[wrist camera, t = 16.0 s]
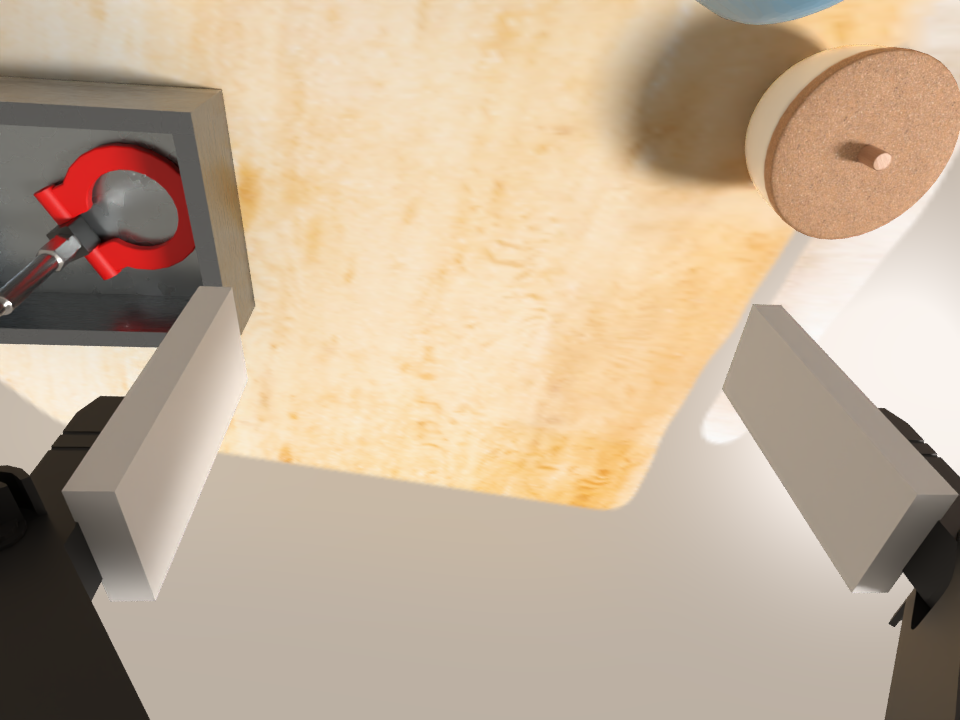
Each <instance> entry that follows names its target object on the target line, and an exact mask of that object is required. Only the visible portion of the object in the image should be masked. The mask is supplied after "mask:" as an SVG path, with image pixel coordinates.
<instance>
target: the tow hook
mask: <svg viewBox="0 0 960 720" xmlns="http://www.w3.org/2000/svg"><path fill="white" fill-rule="evenodd" d="M115 170H130V171H135V172H138V173H141V174H144V175H146V176H148V177H150V178H151V179H153V180H155V181H156V182H157V183H159V184H160V185H161V186H162V187H163V188H164V189H165V190H166V191H167V192H168V194H169V195H170V196H171V198H172V199H173V201H174V204H175V206H176V208H177V213H178V219H179V220H178V227H177V231H176V232H175V234H174V236H173V237H172V238H171V239H170V240H169V241H167V242H165V243H162V244H160V245H155V246H138V245H135V244H131V243H128V242H126V241H124V240H122V239H120V238H113V239H111V240H108V241H106V242H103V243H101V239H100V238H99V237H98V235H97V234H96V233H95V231H94V230H93V229H92V228H91V226H90V225H89V224H88V223H87V221H86V220H85V219H84V218H83V216H82V215H80V214H82V213H84V212H87V211H88V210H89V209H91V207H92V205H93V203H92V190H93V187H94V185H95V183H96V180H97V179H98V178H99V177H100V176H101V175H103V174H105V173H107V172H109V171H115ZM33 195H34V196H35V197H36V199H37V200H38V201H39V202H40V204H41V205H42V206H43V207H44V208H45V210H46V211H47V212H48V213H49V214H50V216H51V217H52V218H53V219H54V221H55V222H56V223H57V224H58V225H57V226H56V227H55V228H54V229H52V230H51V231H50V232H49V233H48V234H46V236H47V237H48V239H49V240H50V241H49V242H47V243H46V244H45V245H44V246H43V247H42V248H40V250H39V251H38V253H37V255H36V257H35V259H34V260H33V261H32V262H30V263H29V264H28V265H27V266H26V267H25V268H23V269H22V270H21V271H20V272H19V273H18V274H16V275H15V276H14V277H13V278H12V279H11V280H9V281H8V282H7V283H6V284H5V285H4V286H3V287H1V288H0V316H1V315H8V314H10V313H11V312H12V311H13V310H14V309H15V308H17V307H18V306H19V305H20V304H21V303H22V302H23V301H24V300H25V299H26V298H27V297H28V296H29V295H30V294H31V293H32V292H33V291H35V290H36V289H37V288H38V287H39V286H40V285H41V284H42V283H43V282H44V281H45V280H46V279H47V278H48V277H49V276H50V275H51V274H53V273H54V272H60V271H61V270H62V269H63V268H64V267H65V266H67V265H68V264H69V263H70V262H72V261H75V260H77V259H79V258H82V257H85V258H86V259H87V261H88V262H89V263H90V264H91V265H92V267H93V268H94V269H95V270H96V271H97V273H98V274H99V275H100V276H101V278H102V279H103V280H107V279H110V278H112V277H114V276H116V275H117V274H118V273H120V272H121V271H122V269H123V268H125V267H131V268H135V269H146V270H156V269H162V268H168V267H171V266H173V265H175V264H177V263H179V262H181V261H183V260H184V259H185V258H186V257H187V256H188V255H190V254H191V253H192V252H193V251H194V249H195V243H194V238H193V233H192V229H191V224H190V219H189V214H188V209H187V204H186V199H185V194H184V189H183V184H182V180H181V175H180V170H179V168H178V167H177V166H176V165H175V164H174V163H173V162H171V161H170V160H168V159H167V158H165V157H163V156H161V155H160V154H158V153H156V152H155V151H152V150H149V149H146V148H143V147H140V146H137V145H133V144H122V143H112V144H106V145H101V146H97V147H95V148H93V149H91V150H89V151H87V152H85V153H83V154H82V155H80V156H79V157H78V158H77V159H76V160H75V161H74V163H73V164H72V165H71V166H70V167H69V168H68V171H67V173H66V176H65V178H64V180H63V183H61V184H59V185H57V186H55V184H51V185H49V186H46V187H44V188H42V189H40V190H39V191H37V192H35V193H34V194H33Z"/></svg>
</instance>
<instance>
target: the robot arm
mask: <svg viewBox="0 0 960 720" xmlns="http://www.w3.org/2000/svg"><path fill="white" fill-rule="evenodd" d="M696 1H697V2H699V3H700V4H702V5H703V6H705V7H706V8H708V9H709V10H710V11H712V12H714V13H715V14H717V15H718V16H720V17H722V18H725V19H729V20H732V21H735V22H740V23H744V24H753V25H764V24H774V23H781V22H786V21H790V20H795V19H798V18H802V17H805V16H808V15H811V14H813V13H816V12H819V11H821V10H824V9H826V8H829V7H831V6H833V5H835V4H837V3H839V2H841V1H843V0H696ZM247 381H248V375H247V370H246V364H245V358H244V352H243V347H242V341H241V335H240V330H239V324H238V318H237V312H236V307H235V301H234V295H233V290H232V287H212V286H199V287H198V288H197V290H196V291H195V293H194V294H193V296H192V297H191V299H190V300H189V302H188V303H187V305H186V306H185V308H184V309H183V311H182V312H181V314H180V315H179V317H178V318H177V320H176V321H175V323H174V324H173V326H172V327H171V329H170V330H169V332H168V333H167V335H166V336H165V338H164V339H163V341H162V342H161V344H160V345H159V347H158V348H157V350H156V351H155V353H154V354H153V356H152V357H151V359H150V360H149V362H148V363H147V364H146V366H145V367H144V369H143V370H142V372H141V373H140V375H139V376H138V378H137V379H136V381H135V382H134V384H133V385H132V387H131V388H130V390H129V391H128V393H127V394H126V396H125V397H118V396H100V397H98V398H97V399H95V400H94V401H93V402H91V403H90V404H88V405H87V406H85V407H84V408H83V409H81V410H80V411H78V412H77V413H76V414H75V416H74V417H73V418H72V420H71V421H70V422H69V424H68V425H67V426H66V428H65V429H64V430H63V435H60V436H59V437H58V439H57V440H56V441H55V442H54V444H53V445H52V449H51V450H49V451H48V452H47V453H46V454H45V456H44V457H43V458H42V460H41V461H40V462H39V464H38V465H37V466H36V468H35V469H34V470H33V472H32V473H31V474H30V476H29V475H28V474H27V473H26V472H25V471H24V470H23V469H21V468H17V467H12V466H8V465H6V466H0V720H150V719H149V717H148V715H147V713H146V711H145V709H144V707H143V705H142V703H141V701H140V699H139V697H138V695H137V693H136V691H135V689H134V687H133V685H132V683H131V681H130V679H129V677H128V674H127V672H126V670H125V668H124V667H123V664H122V662H121V660H120V658H119V656H118V654H117V652H116V650H115V649H114V646H113V644H112V642H111V640H110V638H109V636H108V634H107V632H106V630H105V628H104V626H103V624H102V622H101V620H100V618H99V616H98V614H97V612H96V610H95V608H94V606H93V604H92V602H91V601H92V599H93V597H94V595H95V593H96V591H97V589H98V587H99V585H100V583H101V582H102V584H103V586H104V589H105V591H106V593H107V595H108V598H109V600H110V601H155V600H156V598H157V596H158V594H159V591H160V589H161V586H162V584H163V582H164V579H165V577H166V575H167V572H168V570H169V567H170V565H171V563H172V560H173V558H174V556H175V553H176V551H177V548H178V546H179V544H180V541H181V539H182V536H183V534H184V532H185V529H186V527H187V524H188V522H189V520H190V517H191V515H192V513H193V510H194V508H195V505H196V503H197V501H198V498H199V496H200V493H201V491H202V488H203V486H204V483H205V481H206V479H207V477H208V474H209V472H210V470H211V467H212V465H213V462H214V460H215V458H216V455H217V453H218V450H219V448H220V446H221V443H222V441H223V439H224V436H225V434H226V431H227V429H228V427H229V424H230V422H231V419H232V417H233V415H234V412H235V410H236V407H237V405H238V403H239V400H240V398H241V396H242V393H243V391H244V388H245V386H246V384H247ZM722 390H723V391H724V393H725V394H726V396H727V397H728V399H729V401H730V402H731V404H732V405H733V407H734V409H735V410H736V412H737V413H738V415H739V416H740V418H741V420H742V421H743V423H744V424H745V426H746V427H747V429H748V431H749V432H750V434H751V435H752V437H753V438H754V440H755V442H756V443H757V445H758V446H759V448H760V449H761V451H762V453H763V454H764V456H765V457H766V459H767V460H768V462H769V464H770V465H771V467H772V468H773V470H774V471H775V473H776V474H777V476H778V477H779V479H780V481H781V482H782V484H783V486H784V487H785V489H786V490H787V492H788V493H789V495H790V497H791V498H792V500H793V501H794V503H795V504H796V506H797V508H798V509H799V511H800V512H801V514H802V515H803V517H804V519H805V520H806V522H807V523H808V525H809V526H810V528H811V529H812V531H813V533H814V534H815V536H816V537H817V539H818V540H819V542H820V544H821V545H822V547H823V548H824V550H825V551H826V553H827V555H828V556H829V558H830V559H831V561H832V562H833V564H834V566H835V567H836V569H837V570H838V572H839V574H840V575H841V577H842V578H843V580H844V581H845V583H846V585H847V586H848V588H849V589H850V591H851V592H852V593H880V592H881V593H883V592H884V593H885V592H889V591H890V589H891V588H892V587H893V585H894V584H895V582H896V581H897V580H898V578H899V577H900V575H901V574H902V573H904V574H905V575H906V577H907V578H908V579H909V581H910V582H911V584H912V585H913V586H914V589H913V591H912V592H911V593H910V595H909V596H908V597H907V599H906V600H905V601H904V603H903V604H902V605H901V606H900V608H899V609H898V610H897V612H896V613H895V614H894V616H893V617H892V619H891V621H890V622H889V624H890V625H891V626H893V627H895V626H896V625H897V623H898V622H899V621H900V620H902V626H901V631H900V637H899V643H898V648H897V654H896V659H895V665H894V671H893V676H892V682H891V687H890V693H889V698H888V704H887V710H886V716H885V720H960V477H959V476H958V475H957V474H956V473H955V472H954V471H953V470H952V469H951V468H950V466H949V465H947V463H946V462H945V461H944V460H943V459H942V458H941V457H937V453H936V452H935V451H934V450H933V449H932V448H931V447H930V446H929V445H928V444H926V443H924V440H923V439H922V438H921V437H920V436H919V435H918V434H917V433H916V432H915V430H914V429H913V428H912V427H911V426H910V425H909V424H908V423H906V422H905V421H903V420H902V419H900V418H899V417H897V416H895V415H894V414H893V413H891V412H889V411H888V410H886V409H885V408H877V407H876V406H875V405H874V404H873V403H872V402H871V401H870V400H869V398H867V397H866V396H865V394H864V393H863V392H862V391H861V390H860V389H859V388H858V387H857V386H856V385H855V384H854V383H853V381H852V380H851V379H850V378H849V377H848V376H847V375H846V374H845V373H844V372H843V371H842V370H841V369H840V368H839V367H838V365H837V364H836V363H835V362H834V361H833V360H832V359H831V358H830V357H829V356H828V355H827V354H826V353H825V352H824V351H823V350H822V348H820V346H819V345H818V344H817V343H816V342H815V341H814V340H813V339H812V338H811V337H810V336H809V335H808V334H807V332H806V331H805V330H804V329H803V328H802V327H801V326H800V325H799V324H798V323H797V322H796V321H795V320H794V319H793V318H792V317H791V315H790V314H789V313H788V312H787V311H786V310H785V309H784V308H783V307H782V306H781V305H758V304H755V305H754V304H753V305H752V308H751V311H750V314H749V316H748V319H747V322H746V325H745V327H744V330H743V333H742V335H741V338H740V341H739V344H738V346H737V349H736V352H735V355H734V358H733V360H732V363H731V366H730V368H729V371H728V374H727V377H726V379H725V382H724V385H723V388H722Z"/></svg>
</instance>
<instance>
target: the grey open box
mask: <svg viewBox="0 0 960 720" xmlns="http://www.w3.org/2000/svg"><path fill="white" fill-rule="evenodd" d="M112 143H122V144H133V145H137V146H140V147H143V148H146V149H149V150H152V151H155V152H156V153H158V154H160V155H161V156H163V157H165V158H167V159H168V160H170V161H171V162H173V163H174V164H175V165H176V166H177V167H178V168H179V170H180V175H181V180H182V184H183V189H184V194H185V199H186V204H187V209H188V214H189V219H190V224H191V229H192V233H193V238H194V243H195V249H194V251H193V252H192V253H191V254H190V255H188V256H187V257H186V258H185V259H184V260H183V261H181V262H179V263H177V264H175V265H173V266H171V267H168V268H162V269H156V270H146V269H135V268H131V267H125V268H123V269H122V271H121V272H120V273H118V274H117V275H116V276H114V277H112V278H110V279H107V280H103V279H102V278H101V276H100V275H99V274H98V273H97V271H96V270H95V269H94V268H93V267H92V265H91V264H90V263H89V262H88V261H87V259H86V258H85V257H82V258H79V259H77V260H75V261H72V262H70V263H69V264H68V265H67V266H65V267H64V268H63V269H62V270H61V271H60V272H54V273H53V274H51V275H50V276H49V277H48V278H47V279H46V280H45V281H44V282H43V283H42V284H41V285H40V286H39V287H38V288H37V289H36V290H35V291H33V292H32V293H31V294H30V295H29V296H28V297H27V298H26V299H25V300H24V301H23V302H22V303H21V304H20V305H19V306H18V307H17V308H15V309H14V310H13V311H12V312H11V313H10V314H8V315H1V316H0V344H39V345H80V346H122V347H159V345H160V344H161V342H162V341H163V339H164V338H165V336H166V335H167V333H168V332H169V330H170V329H171V327H172V326H173V324H174V323H175V321H176V320H177V318H178V317H179V315H180V314H181V312H182V311H183V309H184V308H185V306H186V305H187V303H188V302H189V300H190V299H191V297H192V296H193V294H194V293H195V291H196V290H197V288H198V287H199V286H212V287H232V290H233V295H234V301H235V307H236V312H237V318H238V324H239V330H240V335H241V334H242V332H243V330H244V328H245V326H246V324H247V322H248V320H249V318H250V316H251V313H252V311H253V309H254V307H255V301H254V295H253V288H252V282H251V275H250V269H249V262H248V256H247V249H246V243H245V236H244V230H243V223H242V217H241V210H240V204H239V198H238V191H237V185H236V178H235V172H234V165H233V159H232V152H231V146H230V139H229V133H228V126H227V120H226V113H225V107H224V100H223V94H222V90H219V89H203V88H186V87H170V86H153V85H137V84H121V83H104V82H88V81H71V80H55V79H39V78H22V77H6V76H0V288H1V287H3V286H4V285H5V284H6V283H7V282H8V281H9V280H11V279H12V278H13V277H14V276H15V275H16V274H18V273H19V272H20V271H21V270H22V269H23V268H25V267H26V266H27V265H28V264H29V263H30V262H32V261H33V260H34V259H35V257H36V255H37V253H38V251H39V250H40V248H42V247H43V246H44V245H45V244H46V243H47V242H49V241H50V240H49V239H48V237H47V236H46V234H48V233H49V232H50V231H51V230H52V229H54V228H55V227H56V226H57V225H58V224H57V223H56V222H55V221H54V219H53V218H52V217H51V216H50V214H49V213H48V212H47V211H46V210H45V208H44V207H43V206H42V205H41V204H40V202H39V201H38V200H37V199H36V197H35V196H34V195H33V194H34V193H35V192H37V191H39V190H40V189H42V188H44V187H46V186H49V185H51V184H55V186H57V185H59V184H61V183H63V180H64V178H65V176H66V173H67V171H68V168H69V167H70V166H71V165H72V164H73V163H74V161H75V160H76V159H77V158H78V157H79V156H80V155H82V154H83V153H85V152H87V151H89V150H91V149H93V148H95V147H97V146H101V145H106V144H112ZM92 203H93V205H92V207H91V209H89V210H88V211H87V212H84V213H82V214H80V215H82V216H83V218H84V219H85V220H86V221H87V223H88V224H89V225H90V226H91V228H92V229H93V230H94V231H95V233H96V234H97V235H98V237H99V238H100V239H101V243H103V242H106V241H108V240H111V239H113V238H120V239H122V240H124V241H126V242H128V243H131V244H135V245H138V246H155V245H160V244H162V243H165V242H167V241H169V240H170V239H171V238H172V237H173V236H174V234H175V232H176V231H177V227H178V220H179V219H178V213H177V208H176V206H175V204H174V201H173V199H172V198H171V196H170V195H169V194H168V192H167V191H166V190H165V189H164V188H163V187H162V186H161V185H160V184H159V183H157V182H156V181H155V180H153V179H151V178H150V177H148V176H146V175H144V174H141V173H138V172H135V171H130V170H115V171H109V172H107V173H105V174H103V175H101V176H100V177H99V178H98V179H97V180H96V183H95V185H94V187H93V190H92Z"/></svg>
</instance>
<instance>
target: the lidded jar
mask: <svg viewBox="0 0 960 720" xmlns="http://www.w3.org/2000/svg"><path fill="white" fill-rule="evenodd" d="M959 131H960V92H959V89H958V86H957V83H956V81H955V79H954V77H953V76H952V74H951V72H950V71H949V70H948V69H947V68H946V67H945V66H944V65H943V64H942V63H941V62H940V61H939V60H937V59H935V58H934V57H932V56H930V55H928V54H925V53H922V52H919V51H916V50H912V49H905V48H896V47H886V46H878V45H848V46H841V47H836V48H832V49H828V50H824V51H821V52H819V53H816V54H814V55H811V56H809V57H807V58H805V59H804V60H802V61H800V62H798V63H797V64H795V65H793V66H792V67H791V68H789V69H788V70H787V71H785V72H784V73H783V74H782V75H781V76H779V77H778V78H777V79H776V80H775V81H774V82H773V83H772V84H771V86H770V87H769V88H768V89H767V91H766V92H765V93H764V94H763V96H762V97H761V99H760V101H759V102H758V104H757V105H756V108H755V110H754V112H753V114H752V116H751V119H750V122H749V125H748V128H747V133H746V138H745V158H746V165H747V169H748V172H749V175H750V177H751V180H752V182H753V184H754V185H755V187H756V189H757V191H758V192H759V194H760V195H761V196H762V198H763V199H764V200H765V201H766V202H767V203H768V205H769V206H770V207H771V208H772V209H773V210H774V211H775V212H776V213H777V214H778V215H779V216H780V217H781V218H782V220H783V221H785V222H786V223H787V224H788V225H790V226H791V227H792V228H794V229H795V230H796V231H798V232H801V233H803V234H805V235H807V236H811V237H815V238H819V239H843V238H849V237H853V236H858V235H861V234H864V233H867V232H870V231H872V230H875V229H877V228H879V227H881V226H883V225H885V224H887V223H889V222H890V221H892V220H893V219H895V218H897V217H898V216H900V215H901V214H902V213H904V212H905V211H906V210H908V209H909V208H910V207H912V206H913V205H914V204H915V203H916V202H917V201H918V200H919V199H920V198H921V197H922V196H923V195H924V194H925V193H926V192H927V191H928V190H929V188H930V187H931V186H932V185H933V184H934V183H935V181H936V180H937V178H938V177H939V175H940V174H941V172H942V171H943V169H944V168H945V166H946V164H947V162H948V160H949V159H950V157H951V155H952V153H953V150H954V147H955V144H956V142H957V139H958V135H959Z"/></svg>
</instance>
